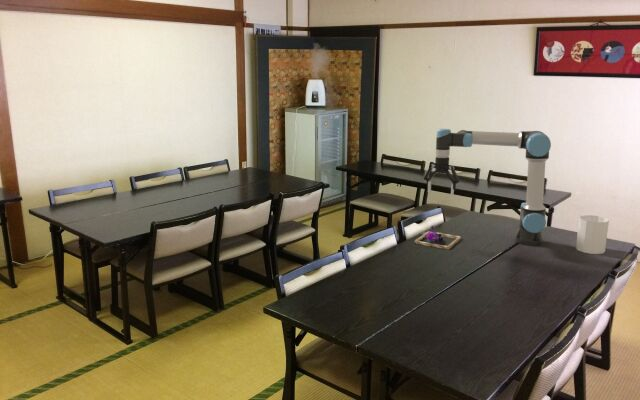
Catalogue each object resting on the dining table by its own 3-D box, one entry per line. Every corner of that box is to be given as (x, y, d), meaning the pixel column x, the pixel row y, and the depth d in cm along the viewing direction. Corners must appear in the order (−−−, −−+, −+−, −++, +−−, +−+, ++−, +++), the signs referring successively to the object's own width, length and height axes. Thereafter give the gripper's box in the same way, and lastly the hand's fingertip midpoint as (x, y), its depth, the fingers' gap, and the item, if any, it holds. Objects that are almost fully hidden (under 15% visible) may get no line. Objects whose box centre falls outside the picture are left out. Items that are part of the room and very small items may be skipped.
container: (597, 256, 287) (602, 223, 283) (571, 249, 298) (574, 218, 293) (608, 250, 296) (613, 218, 292) (582, 244, 307) (586, 213, 303)
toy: (449, 244, 310) (438, 243, 298) (436, 250, 315) (423, 250, 303) (442, 225, 314) (429, 224, 302) (428, 232, 319) (416, 231, 307)
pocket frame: (461, 238, 316) (461, 236, 315) (448, 249, 297) (448, 246, 297) (423, 232, 328) (423, 230, 328) (409, 242, 309) (409, 240, 309)
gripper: (466, 157, 297) (464, 194, 302) (423, 154, 310) (422, 189, 315) (462, 159, 290) (460, 197, 296) (418, 155, 303) (417, 192, 308)
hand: (440, 193), depth 305 cm, fingers open, 13 cm apart
